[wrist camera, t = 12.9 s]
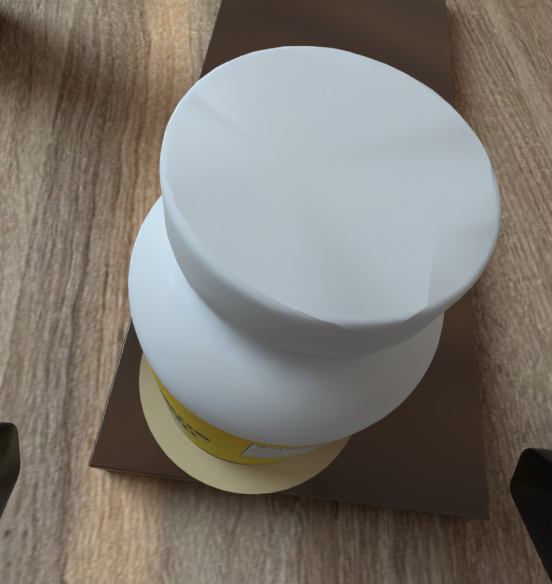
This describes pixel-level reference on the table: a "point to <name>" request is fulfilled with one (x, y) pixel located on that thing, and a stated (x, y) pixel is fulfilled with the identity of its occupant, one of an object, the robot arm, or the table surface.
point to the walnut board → (441, 372)
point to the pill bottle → (305, 248)
